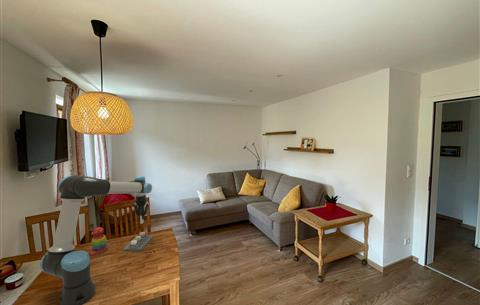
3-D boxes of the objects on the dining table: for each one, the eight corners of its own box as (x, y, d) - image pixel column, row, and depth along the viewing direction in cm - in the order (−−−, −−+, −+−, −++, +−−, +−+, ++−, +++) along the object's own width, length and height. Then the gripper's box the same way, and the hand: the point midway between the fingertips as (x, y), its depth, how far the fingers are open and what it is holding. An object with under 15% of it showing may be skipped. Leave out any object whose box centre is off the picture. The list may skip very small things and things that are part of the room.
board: (141, 251, 155) (140, 247, 155) (122, 250, 155) (122, 247, 155) (152, 237, 175) (152, 234, 174) (136, 237, 175) (136, 234, 175)
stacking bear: (92, 248, 158) (91, 226, 157) (108, 245, 162) (106, 223, 161) (89, 256, 148) (87, 232, 147) (105, 252, 153) (104, 229, 151)
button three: (143, 237, 169) (143, 233, 169) (138, 237, 169) (138, 233, 169) (146, 235, 173) (145, 231, 173) (141, 235, 173) (141, 231, 173)
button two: (139, 241, 163) (139, 237, 162) (134, 241, 163) (134, 237, 162) (142, 239, 167) (142, 235, 166) (137, 239, 167) (137, 235, 166)
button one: (135, 246, 156) (135, 242, 156) (130, 246, 156) (129, 242, 156) (138, 243, 160) (137, 239, 160) (133, 243, 160) (132, 239, 160)
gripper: (150, 193, 172) (151, 221, 174) (135, 193, 172) (136, 221, 174) (146, 196, 164) (147, 225, 166) (130, 196, 164) (131, 224, 167)
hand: (142, 223), depth 170 cm, fingers closed
